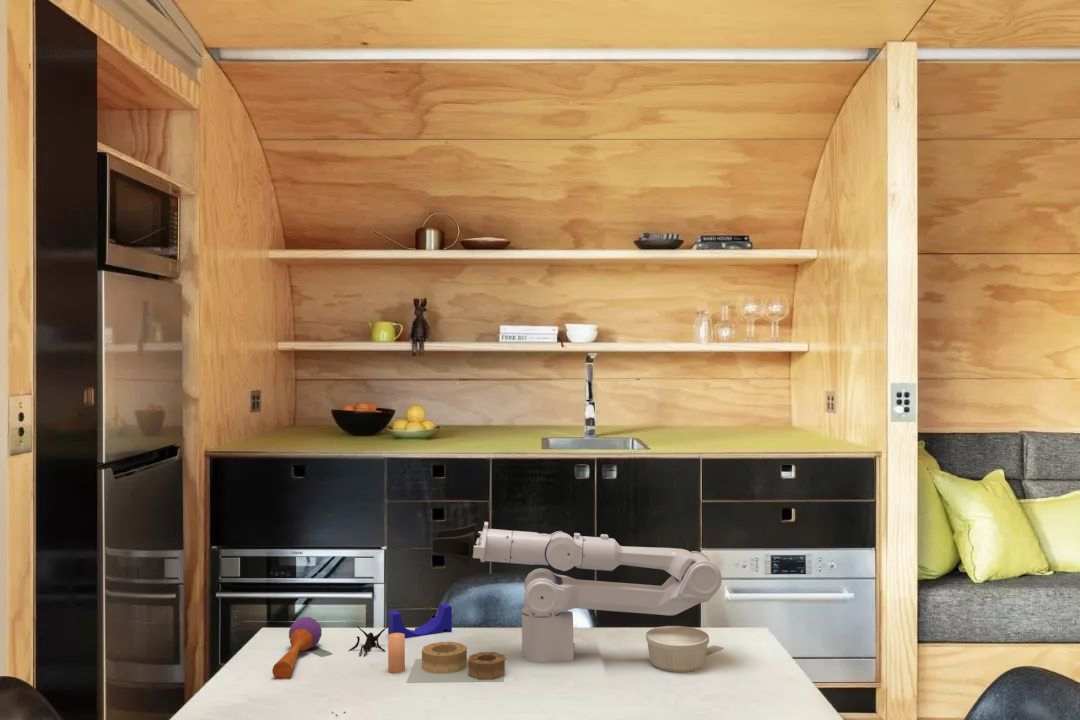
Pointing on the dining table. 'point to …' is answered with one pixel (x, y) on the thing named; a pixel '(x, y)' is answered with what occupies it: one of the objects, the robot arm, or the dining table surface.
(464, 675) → the board
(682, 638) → the ramekin
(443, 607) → the blue curved cradle
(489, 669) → the walnut bead
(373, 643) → the creature
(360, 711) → the dining table surface
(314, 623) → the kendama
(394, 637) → the orange rounded peg
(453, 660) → the oak bead
